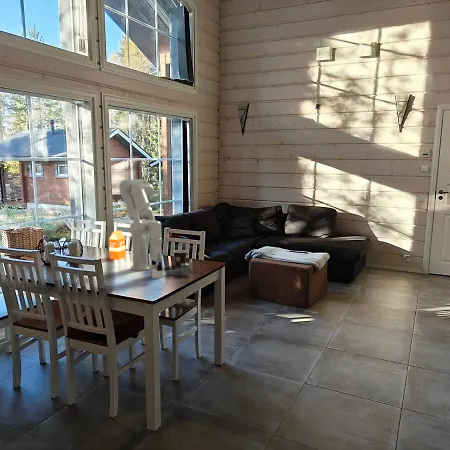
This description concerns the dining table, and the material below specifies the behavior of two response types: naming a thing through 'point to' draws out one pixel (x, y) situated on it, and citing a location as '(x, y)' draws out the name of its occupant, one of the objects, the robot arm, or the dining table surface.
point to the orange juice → (117, 245)
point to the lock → (155, 272)
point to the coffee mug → (180, 257)
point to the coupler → (182, 272)
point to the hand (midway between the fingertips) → (156, 269)
